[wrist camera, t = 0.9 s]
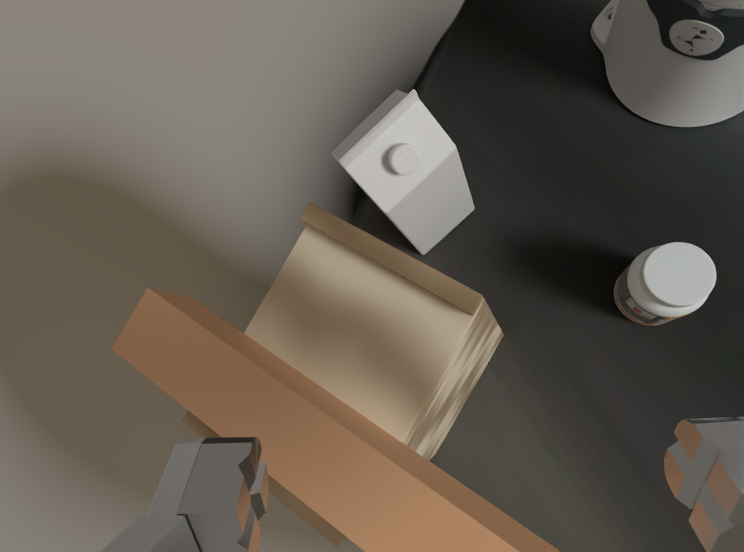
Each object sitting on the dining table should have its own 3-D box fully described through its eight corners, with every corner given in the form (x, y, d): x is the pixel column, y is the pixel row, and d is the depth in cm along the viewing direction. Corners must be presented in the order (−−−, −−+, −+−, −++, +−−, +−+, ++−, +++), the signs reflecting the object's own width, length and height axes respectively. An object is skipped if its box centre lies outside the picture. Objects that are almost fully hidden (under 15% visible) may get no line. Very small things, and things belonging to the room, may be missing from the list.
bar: (191, 297, 28) (147, 287, 25) (562, 553, 21) (570, 587, 18) (159, 351, 28) (111, 349, 25) (520, 627, 21) (520, 675, 18)
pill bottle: (659, 338, 44) (695, 330, 35) (599, 301, 46) (618, 284, 37) (697, 285, 44) (743, 263, 35) (635, 250, 46) (664, 220, 37)
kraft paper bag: (415, 285, 51) (309, 201, 26) (503, 334, 48) (481, 294, 23) (351, 396, 51) (182, 420, 26) (436, 453, 48) (337, 547, 23)
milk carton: (380, 209, 54) (309, 129, 36) (429, 163, 53) (382, 59, 35) (423, 256, 52) (370, 196, 34) (475, 209, 51) (449, 122, 33)
